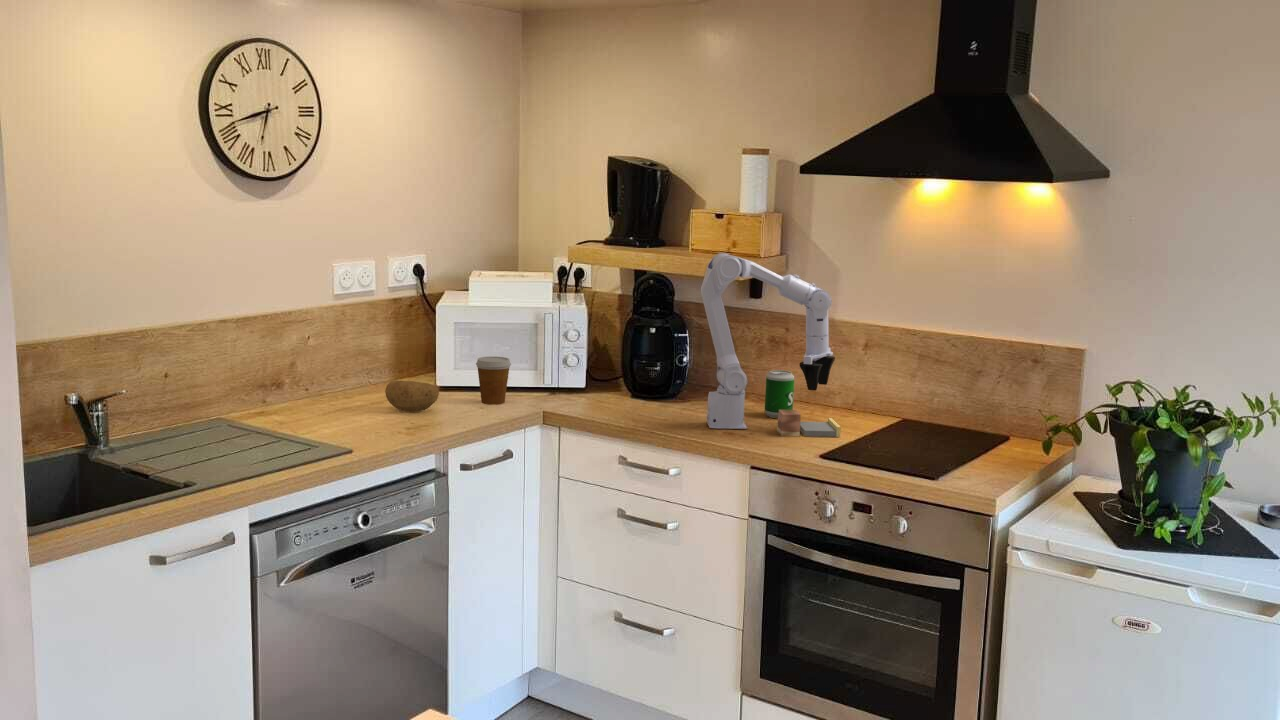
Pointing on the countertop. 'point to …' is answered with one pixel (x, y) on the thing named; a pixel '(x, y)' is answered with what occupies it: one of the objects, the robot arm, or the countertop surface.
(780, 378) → the soda can
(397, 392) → the potato
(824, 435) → the dock
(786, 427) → the brown rectangular block
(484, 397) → the disposable coffee cup
